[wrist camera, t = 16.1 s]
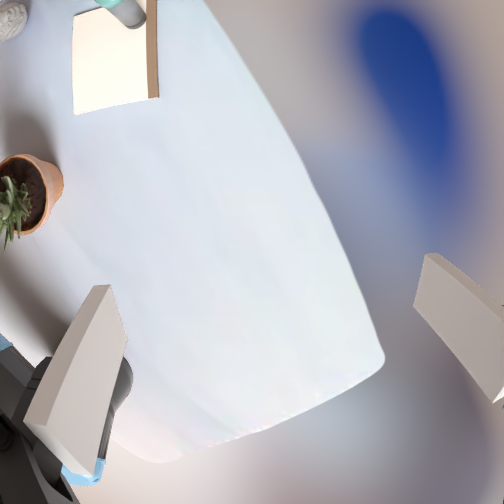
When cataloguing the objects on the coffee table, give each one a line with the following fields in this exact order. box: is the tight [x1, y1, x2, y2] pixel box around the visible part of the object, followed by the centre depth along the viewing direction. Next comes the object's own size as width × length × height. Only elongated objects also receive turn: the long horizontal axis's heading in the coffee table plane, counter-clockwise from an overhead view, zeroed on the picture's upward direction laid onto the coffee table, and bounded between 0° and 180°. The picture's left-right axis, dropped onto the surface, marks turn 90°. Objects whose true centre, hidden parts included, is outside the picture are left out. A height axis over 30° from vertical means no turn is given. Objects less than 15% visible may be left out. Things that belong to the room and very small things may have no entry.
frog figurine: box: [0, 2, 28, 42], centre depth 19 cm, size 6×7×7 cm
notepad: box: [72, 0, 159, 115], centre depth 27 cm, size 11×14×1 cm
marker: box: [95, 0, 147, 29], centre depth 21 cm, size 3×3×10 cm
